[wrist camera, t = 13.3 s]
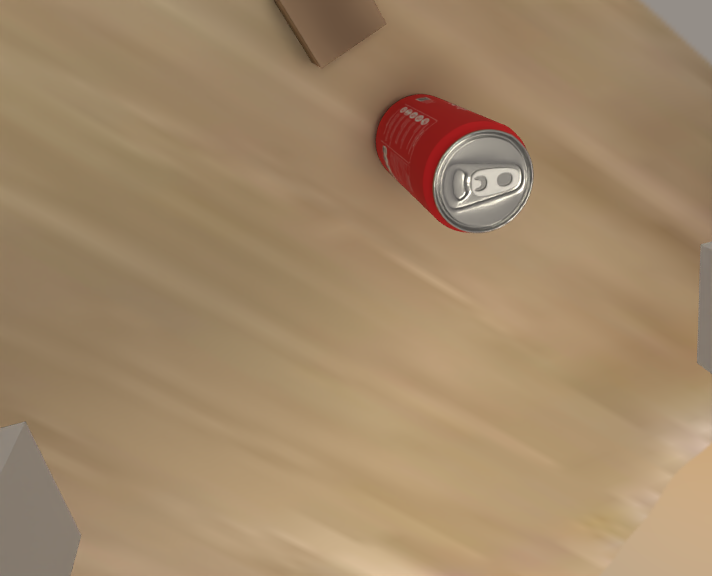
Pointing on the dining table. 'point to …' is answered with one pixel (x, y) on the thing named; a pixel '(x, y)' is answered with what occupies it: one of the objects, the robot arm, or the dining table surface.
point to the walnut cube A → (330, 25)
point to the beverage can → (455, 162)
